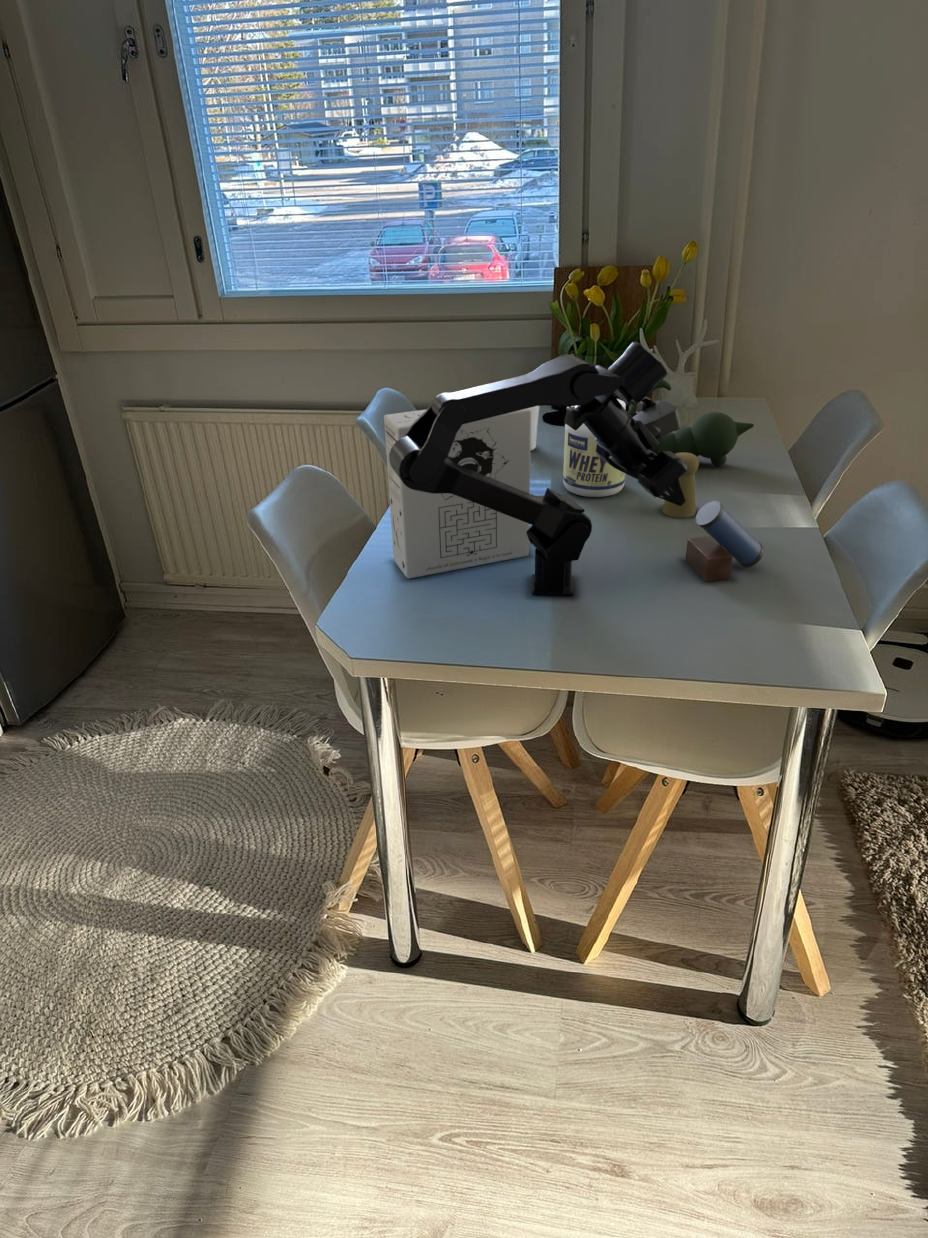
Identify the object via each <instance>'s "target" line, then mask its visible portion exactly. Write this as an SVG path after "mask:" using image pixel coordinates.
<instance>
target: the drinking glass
mask: <svg viewBox="0 0 928 1238" xmlns="http://www.w3.org/2000/svg"><path fill="white" fill-rule="evenodd" d="M540 407H541V406H535V407H531V408H528V409H530V410H531V446H530V452H531V451H534V450H535V449H536V447H537V435H538V427H539V425H538V424H539V415H540Z"/></svg>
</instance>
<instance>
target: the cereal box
mask: <svg viewBox="0 0 928 1238" xmlns="http://www.w3.org/2000/svg"><path fill="white" fill-rule="evenodd" d="M427 409H428V408H426V409H418V410H411V411H404V412H397V413H396V412H395V413H389V414H384V416H383V422H384V434H385V435H384V436H385V437H384V438H385V439H384V440H385V452H386V466H387V480H388V495H389V496H388V497H389V510H390V523H391V524H390V525H391V526H390V527H391V538H392V539H391V540H392V551H393V552H392V553H393V561H394V563H395V564H396V565H397V567H398V568H399V569H400V571H401V572H402V573H403V574H404V576H405V578H406V579H414V578H420V577H424V576H430V575H436V574H440V573H445V572H451V571H455V570H461V569H466V568H472V567H475V566H476V567H477V566H481V565H487V564H493V563H498V562H503V561H507V560H513V559H514V560H515V559H518V558H523V557H528V556H529V555H530V542H529V539H528V536H527V534H526V532H527V530H528V529H529V528H530V524H529V523H526V522H523V521H521V520H518V519H516V518H513V517H510V516H508V515H505V514H503V513H500V512H498V511H495V510H492V509H490V508H487V507H485V506H482V505H480V504H477V503H474V502H472V501H469V500H467V499H464V498H462V497H459V496H456V495H454V494H450V493H442V494H433V493H427V492H422V491H417V490H412V489H410V488H408V487H407V486H406V485H405V484H404V483H403V482H402V481H401V479H400V478H399V476H398V475H397V474H396V472H395V471H394V470H393V468H392V467H391V464H390V461H389V454H390V450H391V448H392V446H393V445H394V443H396V442H397V441H398V440H399V439H402V438H403V437H404V436H405V434H406V433H407V431H408V430H409V428H410V426H411V425H412V424H413V423H414V422H415V421H416V420H417V419H418V418H419V417H420V416H421V415H422V414H423V413H424V412H425V411H426V410H427ZM530 446H531V410H530V409H528V408H527V409H523V410H519V411H515V412H511V413H507V414H503V415H499V416H495V417H491V418H487V419H483V420H479V421H475V422H471V423H467V424H463V425H462V426H461V427H460V429H459V430H458V432H457V434H456V436H455V439H454V441H453V444H452V447H451V449H450V452H449V454H448V456H447V458H449V459H450V460H451V461H453V462H454V463H456V464H458V465H460V466H463V467H465V468H468V469H470V470H473V471H475V472H478V473H480V474H483V475H485V476H487V477H490V478H492V479H495V480H497V481H500V482H502V483H505V484H507V485H510V486H512V487H514V488H517V489H519V490H522V491H524V492H527V493H529V494H531V451H530Z"/></svg>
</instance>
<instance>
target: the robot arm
mask: <svg viewBox="0 0 928 1238" xmlns="http://www.w3.org/2000/svg"><path fill="white" fill-rule="evenodd" d="M662 363H663V362H662V361H660V360H658V359H657V358H656V357H655V356H654V355H653V354H651V353H650V352H649V351H648V350H647V349H646V348H645V347H644V346H643V345H642V343H639V342H638V341H632V342H631V343H630V344H629V346H628V347H626V349H625V350H624V352H623V354H622V355H621V356H620V357H618V358H617V359H616V360H615V361H614V362H613V363H612V365H610V366H609V367H608V369H607V368H605V367H603V366H602V365H599V364H597V365H596V364H591V363H590V362H587V361H585V360H583V359H582V358H580V357H578V356H575V355H573V354H563V355H560V356H558V357H555V358H554V359H553V358H552V359H551V360H549V361H546V362H545V363H542V364H541V365H540V366H538V367H537V368H536V369H534V370H533V371H531V372H528V373H527V374H524V375H523V374H522V375H520V376H515V377H511V378H507V379H503V380H499V381H495V382H490V383H486V384H482V385H478V386H474V387H470V388H466V389H462V390H457V391H453V392H442V393H440V394H437V395H436V396H435V397H434V398H433V400H432V401H431V403H430V404H429V406H428V407H427V408H426V409H427V410H426V409H425V410H426V411H425V412H424V413H423V414H422V415H421V416H420V417H419V418H418V419H417V420H416V421H415V422H414V423H413V424H412V425H411V426H410V428H409V430H408V431H407V433H406V434H405V436H404V437H403V438H402V439H399V440H398V441H397V442H396V443H394V445H393V446H392V448H391V450H390V454H389V461H390V464H391V467H392V468H393V470H394V471H395V472H396V474H397V475H398V476H399V478H400V479H401V481H402V482H403V483H404V484H405V485H406V486H407V487H408V488H410V489H412V490H417V491H422V492H427V493H433V494H442V493H450V494H454V495H456V496H459V497H462V498H464V499H467V500H469V501H472V502H474V503H477V504H480V505H482V506H485V507H487V508H490V509H492V510H495V511H498V512H500V513H503V514H505V515H508V516H510V517H513V518H516V519H518V520H521V521H523V522H526V523H529V525H531V526H529V529H528V530H527V532H526V534H527V536H528V539H529V544H531V545H532V546H533V547H534V548H535V549H534V572H533V573H534V574H532V575H531V595H532V596H535V597H537V596H538V597H574V596H575V586H574V576H573V575H572V566H573V562H575V561H579V559H580V556H581V554H582V551H583V549H584V546H585V545H586V542H587V541H588V539H589V538H590V536H591V534H592V531H593V525H592V520H591V518H590V517H589V516H588V515H587V514H585V511H586V510H585V508H583V506H581V505H580V504H579V503H578V502H577V501H576V500H574V499H573V498H572V497H571V496H570V495H568V494H566V493H564V494H562V493H558V492H556V491H554V490H553V489H552V488H551V487H546V490H545V493H544V495H536V494H535V495H534V494H531V493H530V494H529V493H527V492H524V491H522V490H519V489H517V488H514V487H512V486H510V485H507V484H505V483H502V482H500V481H497V480H495V479H492V478H490V477H487V476H485V475H483V474H480V473H478V472H475V471H473V470H470V469H468V468H465V467H463V466H460V465H458V464H456V463H454V462H453V461H451V460H450V459H449V458H447V456H448V454H449V452H450V449H451V447H452V444H453V441H454V439H455V436H456V434H457V432H458V430H459V429H460V427H461V426H462V425H463V424H467V423H471V422H475V421H479V420H483V419H487V418H491V417H495V416H499V415H503V414H507V413H511V412H515V411H519V410H523V409H527V408H531V407H535V406H540V407H545V406H547V407H561V408H562V407H563V408H565V407H566V408H565V409H566V413H565V416H564V425H565V424H566V425H568V426H569V427H571V428H572V429H574V430H577V429H578V428H579V427H580V426H581V425H582V424H583V423H584V424H585V426H586V427H587V428H588V429H589V430H590V432H591V433H592V434H593V435H594V436H595V437H596V439H595V441H596V442H597V447H596V452H597V454H598V455H599V456H600V457H601V458H602V459H603V460H604V461H606V462H607V463H608V464H610V465H611V466H612V467H614V468H615V469H617V470H619V471H621V472H623V473H626V474H625V475H628V476H630V477H632V478H634V479H636V480H637V483H638V484H639V485H640V486H641V487H642V488H643V489H644V490H645V492H647V493H648V494H650V495H651V496H652V497H654V498H658V499H661V500H663V501H665V500H666V501H668V502H671V503H673V504H676V505H678V506H682V505H683V504H684V503H685V498H684V495H683V492H682V489H681V486H680V482H679V477H681V476H682V475H683V474H684V473H685V472H686V471H687V467H688V466H687V465H686V464H685V463H684V461H683V460H682V459H681V458H680V457H678V456H677V455H675V454H673V453H672V452H670V451H661V452H660V453H659V454H658V455H656V454H655V453H653V452H652V451H650V450H651V449H655V448H656V447H657V446H658V445H659V442H658V441H657V440H656V439H659V438H661V437H663V436H665V435H667V434H669V433H674V432H677V431H678V430H679V429H681V428H683V426H682V422H681V418H680V414H679V411H678V407H677V406H676V405H673V404H672V403H670V402H668V401H665V400H659V399H658V400H656V401H654V400H653V399H652V398H650V397H648V395H649V394H651V393H652V392H651V391H652V390H653V389H654V388H655V387H656V386H657V385H658V384H659V383H660V382H661V381H662V380H665V378H666V377H667V376H668V371H667V369H666V367H665V366H664V364H662ZM650 392H651V393H650ZM648 393H649V394H648ZM614 394H615V395H616V396H615V395H614ZM617 397H618V398H617ZM617 399H619V400H621V401H623V402H625V404H626V405H628V404H629V405H630V404H631V403H630V402H631V400H632V401H633V402H634V403H635V404H637V409H636V415H635V416H634V417H632V416H631V415H630V414H629V413H628V410H626V409H624V407H623V406H622V405H621V404H620V402H619V401H618V400H617ZM571 406H573V407H571ZM609 457H610V458H609Z"/></svg>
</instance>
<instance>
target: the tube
mask: <svg viewBox="0 0 928 1238" xmlns="http://www.w3.org/2000/svg"><path fill="white" fill-rule="evenodd" d="M695 522H696V523H695V524H696V525H698V526H699V527H700V528H702V529H703V530H704V532H706V533H707V534H708V536H711V537H712V538H713V539H714V540H715V541H716V542H717V543H718V544H719V545H721V546H722V547H723V548H724V549H725V550H726V551H727V552H728V553H729V554H730V555H731V556H732V559H734V560H735V561H736V562H737V563H738V564H739V566H740V567H742V568H750V567H751V568H752V567H753V566H755V565H756V564H757V563H759V562H760V561H761V560H762V558H763V556H764V554H765V547H764V545H763V544H762V543H761V542H760V541H758V540H757V539H756V538H755V537H754V536H753V535H752V534H751V533H750V532H749V531H748V530H747V529H746V528H745V527H744V526H743V525H742V524H741V523H740V522H738V520H737V519H736V518H735V517H734V516H733V515H732V514H731V513H730V512H729V511H728V510H727V509H726V508H725V507H724V506H723V504H722V503H721V502H720V501H718V500H711V501H709V502H707V503H705V504H704V505H702V506H701V507H700V509H699V510H698V511H697V513H696V514H695Z"/></svg>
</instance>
